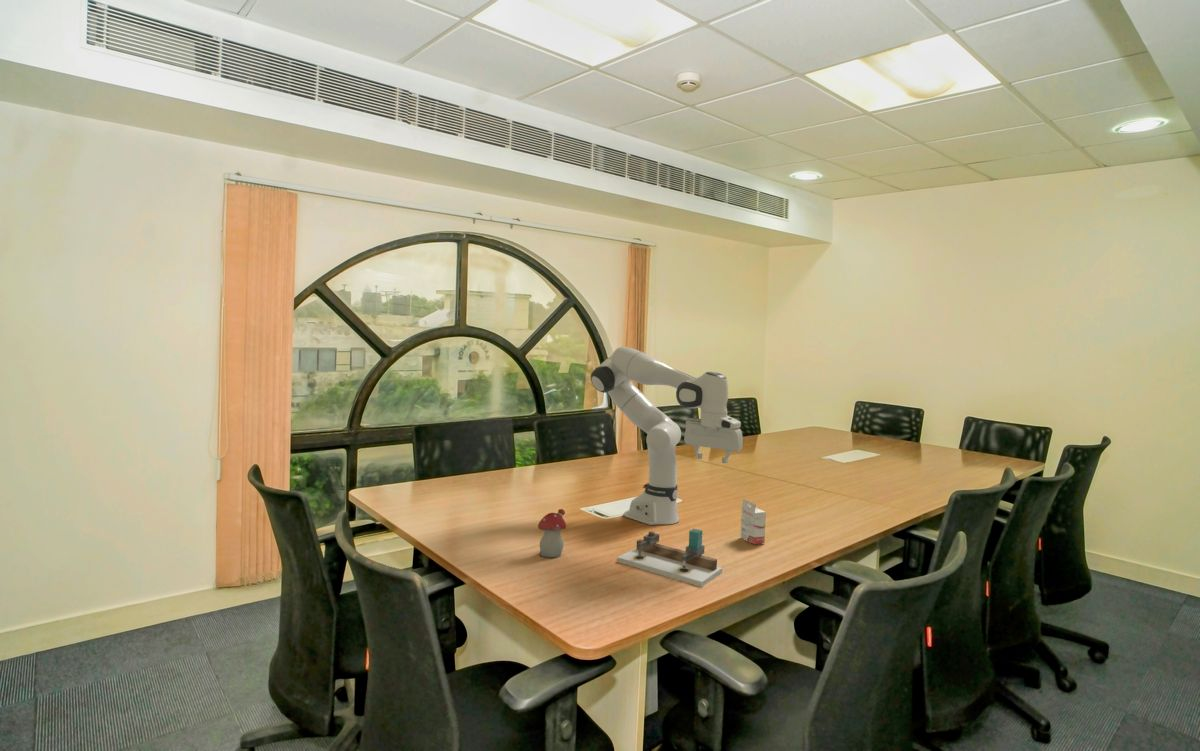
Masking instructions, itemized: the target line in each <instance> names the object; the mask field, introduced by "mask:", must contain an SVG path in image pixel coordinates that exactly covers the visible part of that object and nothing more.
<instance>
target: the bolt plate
mask: <svg viewBox="0 0 1200 751" xmlns="http://www.w3.org/2000/svg"><path fill="white" fill-rule="evenodd" d="M636 548H637V547H635V548H632V549H631V550H629V551H627V552H625V553H623V554H620V555H618V556H617V557H616V563H620V564H624V565H626V566H631V567H634V568H637V569H640V570H643V571H647V572H651V573H654V574H658V575H660V576H663V577H667V578H671V579H674V580H677V581H681V582H684V583H688V584H691V585H695V586H697V587H701V588H702V587H704V586H706V585H707V584H708V583H710V582H711V581H713V580H714V579H716V576H717V577H718V576H719V575H721V574H722V573H723V567H720V566H717V569H716V570H714V571H713V570H709V569H705V568H702V567H698V566H694V565H691V564H687V563H686V567H685V568H683V562H680V561H676V560H673V559H669V558H665V557H662V556H658V555H654V554H651V553H647V552H644V551H641V555H638V554H639V550H636Z"/></svg>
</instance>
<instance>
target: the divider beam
mask: <svg viewBox="0 0 1200 751" xmlns="http://www.w3.org/2000/svg"><path fill="white" fill-rule="evenodd" d="M658 542H660V534H658V533H655V531H652V530H651V531H648V534H645V535H643V539H638V540H636V547H635V548H636V550H639V554H638V555H641V551H644V552H647V553H651V554H654V555H658V556H662V557H665V558H669V559H673V560H676V561H680V562H683V560H682V556H683V555H685V554H686V550H682V549H679V548H675V547H671V546H667V545H664V544H659V543H658ZM686 563H687V564H691V565H694V566H698V567H702V568H705V569H709V570H713V571H714V570H716V569H717V567H718V559H716V558H713V557H710V556H705V555H703V554H702V555H701V556H699V557H697V558H696V557H691V558H689V559H688V560H686Z"/></svg>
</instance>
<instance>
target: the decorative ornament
mask: <svg viewBox="0 0 1200 751" xmlns="http://www.w3.org/2000/svg"><path fill="white" fill-rule="evenodd" d="M565 511H566V510H564V509H563V508H560V509H558V510H557V512H548V513H547V514H545V515H544V516H543V517H542V518H541V520H539V522H538V524H537V528H538V529H539V530H540V531H544V534H543V535H542V536H541V538H540V541H539V550H540V551H539V555H540V557H543V558H547V559H548V558H549V559H550V558H558V557H560V556H561V555H562V554H563V553H562V552H563V549H564V547H565V544H564V538H563V537H562V535H561V531H562V530H566V529H567V524H566V521H565V519H564V518H563V516H564V515H565V514H566V512H565Z"/></svg>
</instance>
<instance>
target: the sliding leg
mask: <svg viewBox="0 0 1200 751" xmlns="http://www.w3.org/2000/svg"><path fill="white" fill-rule="evenodd" d="M688 534H689V535H688V545H687V546H685V551H686V554H685V555H683V556H682V560H683V568H685V567H686V560H688V559H689V558H691V557H696V558H697V557H699V556H701V555H702V556H703V555H704V554H705V545H703V530H701V529H697V528H692V529H690V530H689V531H688Z"/></svg>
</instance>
